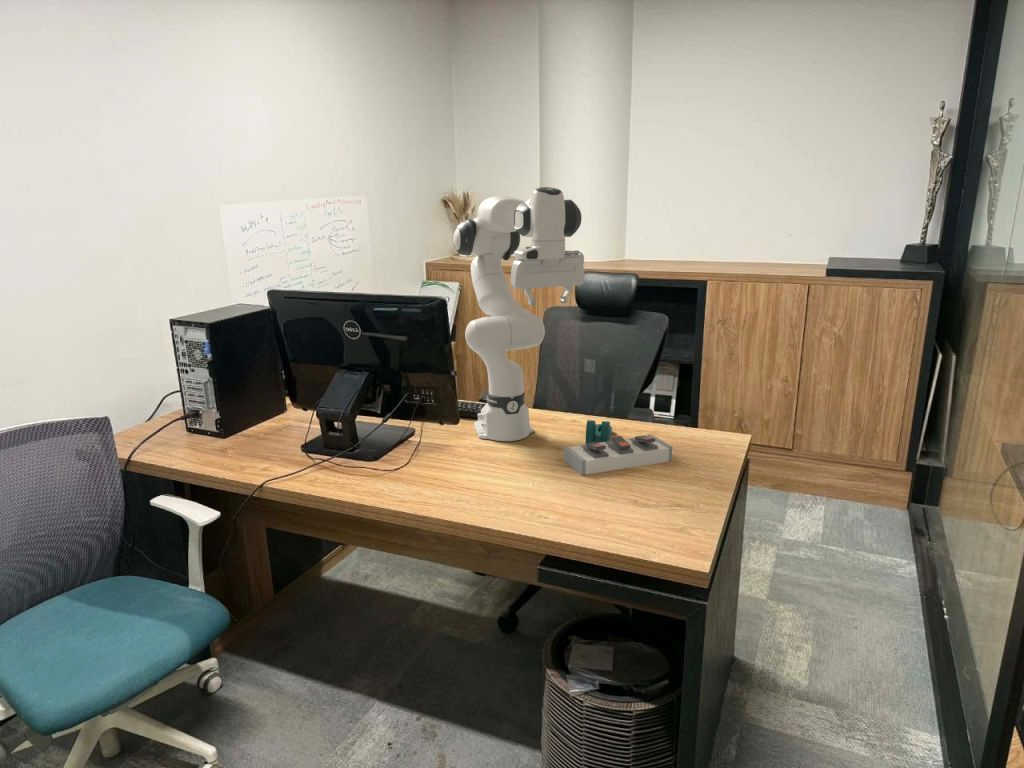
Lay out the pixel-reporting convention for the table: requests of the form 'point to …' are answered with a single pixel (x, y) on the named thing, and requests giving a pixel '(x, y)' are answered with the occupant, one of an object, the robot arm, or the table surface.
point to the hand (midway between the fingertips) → (548, 303)
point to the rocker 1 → (595, 446)
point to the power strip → (617, 456)
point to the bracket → (598, 432)
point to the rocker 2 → (620, 442)
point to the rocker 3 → (645, 439)
